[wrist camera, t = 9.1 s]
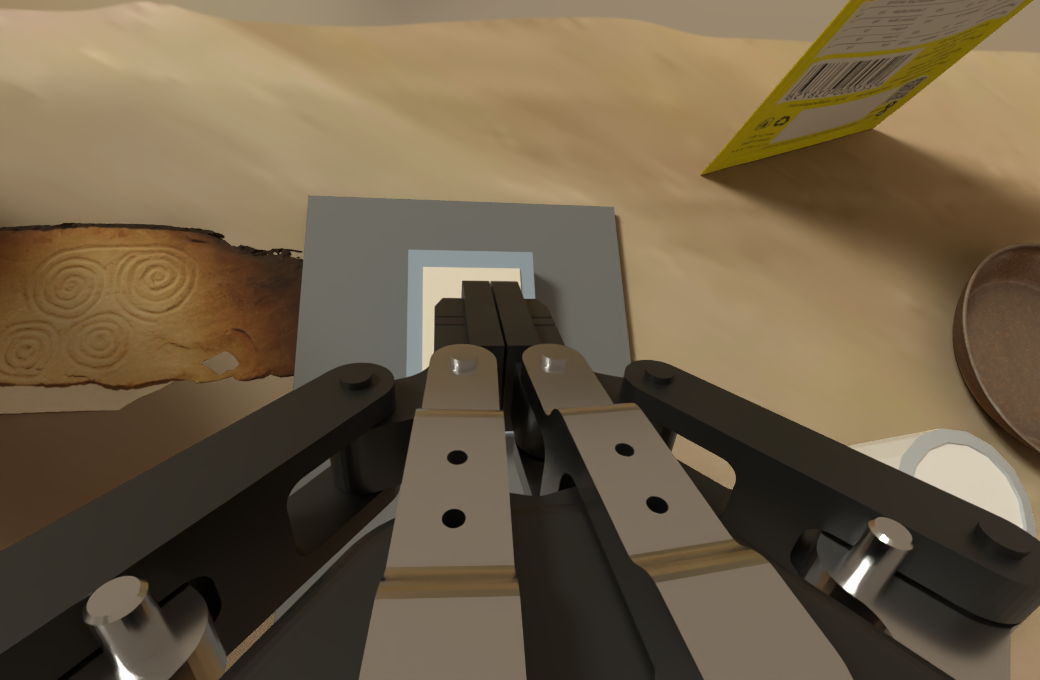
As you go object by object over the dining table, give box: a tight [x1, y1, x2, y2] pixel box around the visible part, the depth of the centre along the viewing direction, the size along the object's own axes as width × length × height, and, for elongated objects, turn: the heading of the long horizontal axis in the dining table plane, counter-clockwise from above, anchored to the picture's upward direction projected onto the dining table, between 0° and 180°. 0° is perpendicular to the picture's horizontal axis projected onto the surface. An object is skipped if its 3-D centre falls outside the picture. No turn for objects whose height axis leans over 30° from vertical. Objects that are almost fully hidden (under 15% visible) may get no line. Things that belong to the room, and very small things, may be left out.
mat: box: [275, 196, 631, 622], centre depth 26 cm, size 18×22×1 cm
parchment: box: [0, 223, 303, 414], centre depth 24 cm, size 25×10×1 cm, turn 93°
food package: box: [701, 0, 1033, 175], centre depth 24 cm, size 15×1×20 cm, turn 111°
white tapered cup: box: [848, 428, 1036, 537], centre depth 24 cm, size 7×7×7 cm
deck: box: [406, 250, 535, 437], centre depth 25 cm, size 6×2×10 cm
